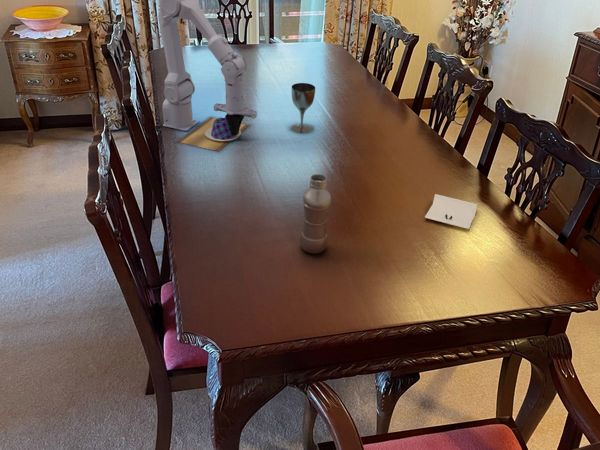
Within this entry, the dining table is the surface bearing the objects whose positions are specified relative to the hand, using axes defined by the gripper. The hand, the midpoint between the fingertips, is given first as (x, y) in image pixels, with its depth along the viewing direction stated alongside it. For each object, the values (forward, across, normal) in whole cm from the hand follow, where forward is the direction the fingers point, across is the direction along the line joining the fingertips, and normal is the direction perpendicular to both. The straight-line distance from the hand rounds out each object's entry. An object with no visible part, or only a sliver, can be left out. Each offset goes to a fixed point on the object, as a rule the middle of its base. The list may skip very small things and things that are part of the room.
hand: (235, 134), depth 184 cm
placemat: (+1, -8, 0) cm, 8 cm away
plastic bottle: (+2, +45, -47) cm, 65 cm away
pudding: (+2, -5, 0) cm, 5 cm away
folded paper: (+2, +74, -17) cm, 76 cm away
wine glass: (+2, +17, +17) cm, 24 cm away
